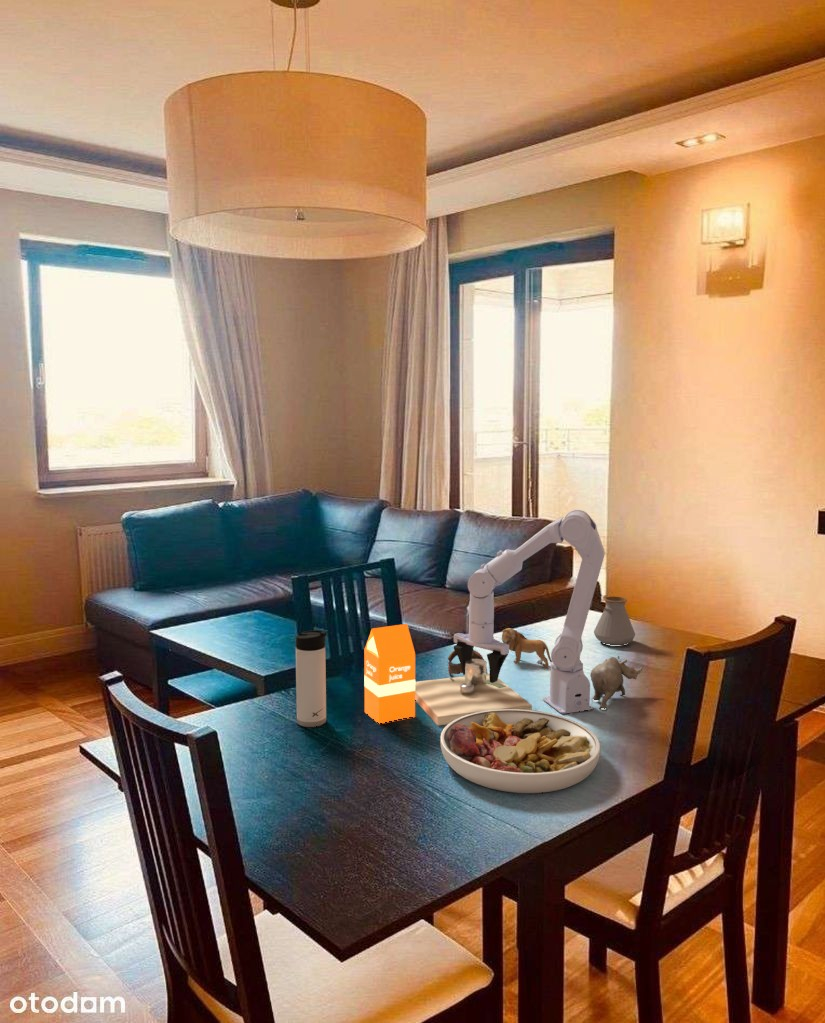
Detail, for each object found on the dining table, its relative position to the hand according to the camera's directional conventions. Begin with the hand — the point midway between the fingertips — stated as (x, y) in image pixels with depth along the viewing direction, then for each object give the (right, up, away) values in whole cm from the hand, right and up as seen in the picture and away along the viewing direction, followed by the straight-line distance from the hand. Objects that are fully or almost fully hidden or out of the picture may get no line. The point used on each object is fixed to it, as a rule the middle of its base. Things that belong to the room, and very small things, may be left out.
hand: (480, 677), depth 189 cm
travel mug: (-37, -7, -15) cm, 41 cm away
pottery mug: (-2, -3, +16) cm, 16 cm away
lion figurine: (+14, -1, +24) cm, 28 cm away
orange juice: (-21, -6, -11) cm, 24 cm away
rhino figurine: (+30, -5, -1) cm, 31 cm away
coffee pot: (+39, +1, +39) cm, 55 cm away
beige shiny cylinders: (-2, -2, -1) cm, 3 cm away
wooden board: (-3, -5, -4) cm, 7 cm away
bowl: (+5, -10, -34) cm, 36 cm away
